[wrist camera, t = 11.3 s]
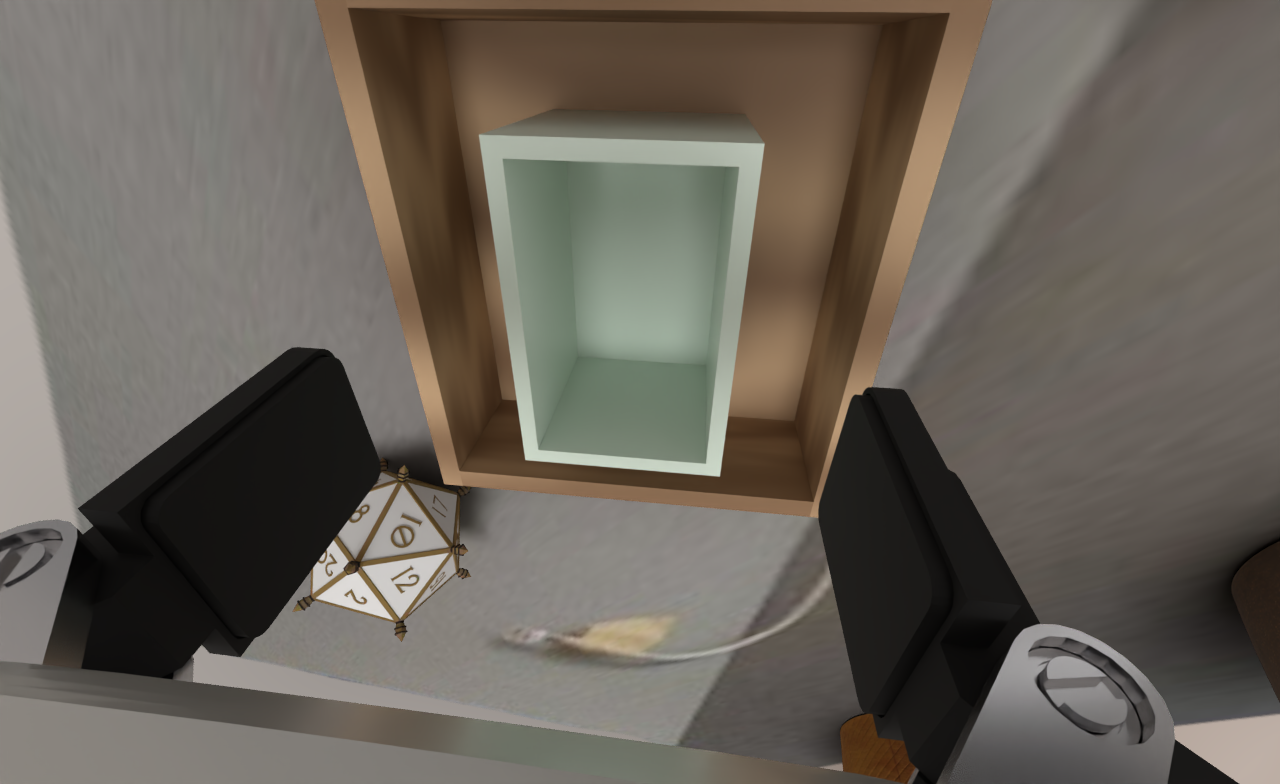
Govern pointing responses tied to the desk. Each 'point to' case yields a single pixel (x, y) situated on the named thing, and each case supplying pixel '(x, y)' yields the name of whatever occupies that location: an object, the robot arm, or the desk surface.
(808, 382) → the big crate
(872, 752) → the disposable coffee cup
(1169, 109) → the desk surface
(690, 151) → the box
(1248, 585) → the plant pot
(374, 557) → the game die
